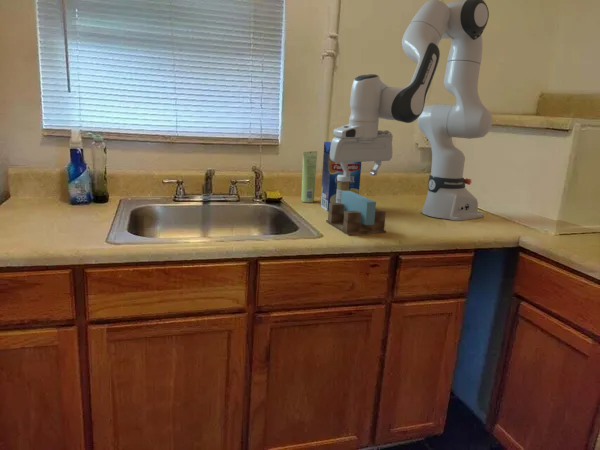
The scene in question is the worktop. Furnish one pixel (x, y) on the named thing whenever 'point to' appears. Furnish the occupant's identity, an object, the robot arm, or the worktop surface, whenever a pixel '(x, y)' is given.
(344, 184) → the sprinkles bottle
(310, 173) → the tube
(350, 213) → the rack
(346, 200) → the slat
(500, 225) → the worktop surface
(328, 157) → the juice carton
